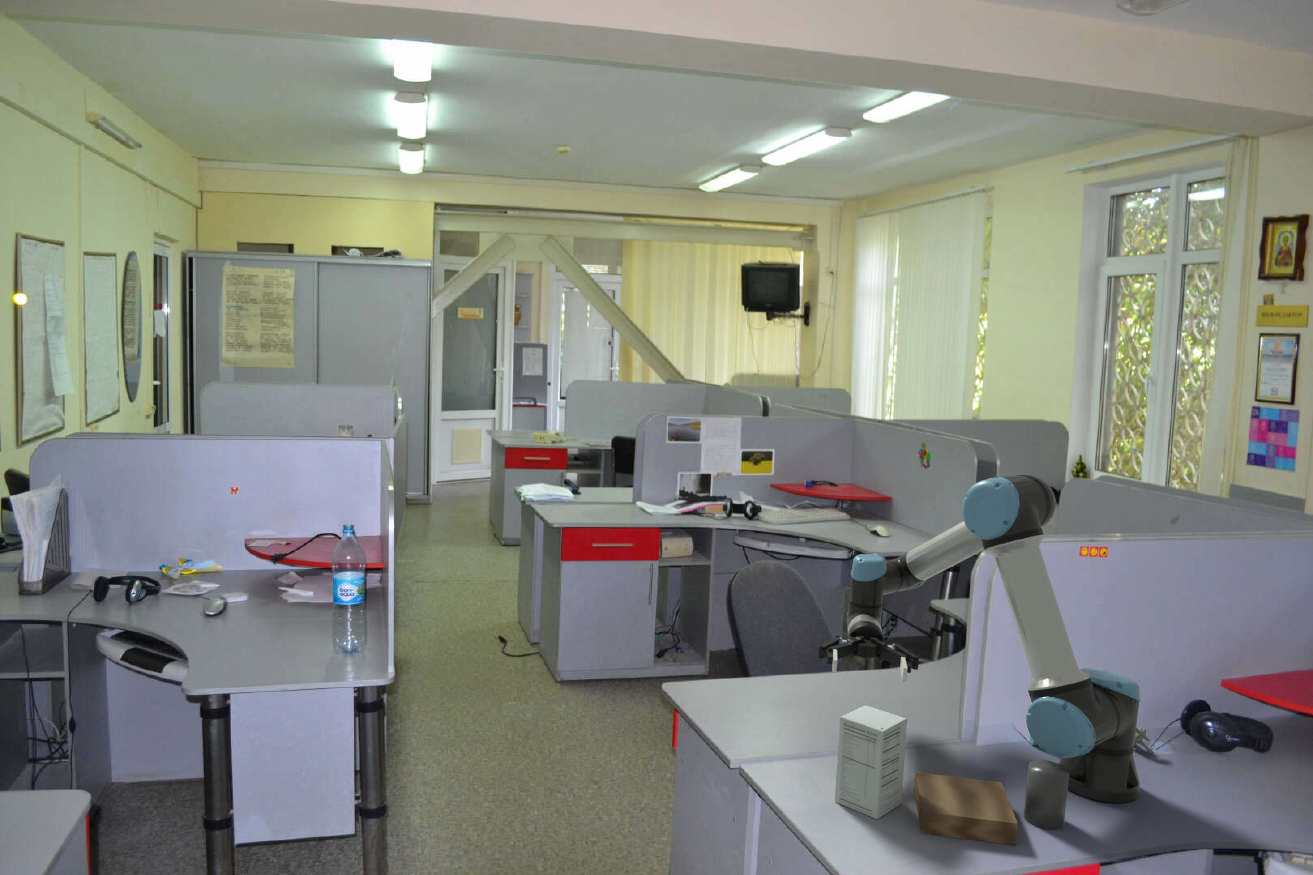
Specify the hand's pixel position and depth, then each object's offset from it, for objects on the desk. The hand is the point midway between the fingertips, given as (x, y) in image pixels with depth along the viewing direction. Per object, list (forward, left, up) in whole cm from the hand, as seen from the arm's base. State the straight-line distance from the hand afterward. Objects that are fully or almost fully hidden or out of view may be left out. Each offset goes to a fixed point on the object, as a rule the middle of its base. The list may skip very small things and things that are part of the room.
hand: (869, 670), depth 193 cm
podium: (-18, +13, -22) cm, 31 cm away
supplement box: (-1, +12, -22) cm, 25 cm away
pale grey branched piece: (-59, -30, -22) cm, 70 cm away
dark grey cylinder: (-33, +10, -22) cm, 40 cm away
